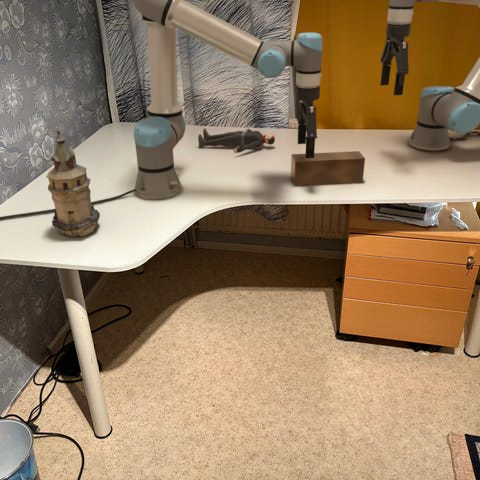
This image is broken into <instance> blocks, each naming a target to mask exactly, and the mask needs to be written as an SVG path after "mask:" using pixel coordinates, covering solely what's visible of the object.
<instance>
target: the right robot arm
mask: <svg viewBox="0 0 480 480" xmlns="http://www.w3.org/2000/svg"><path fill="white" fill-rule="evenodd" d="M421 2H422V3H423V2H443V3H451V4H452V3H454V4H463V5H472V6H477V7H478V8H479V9H480V0H389V2H388V3H389V4H388V5H389V6H388V8H387V9H388V10H387V18H386V20H387V22H388V23H387V24H386V29H385V35H386V37H385V43H384V47H383V50H382V54H381V57H380V63H381V65H382V67H381V74H380V75H381V76H380V84H379V85H380V86H389V84H390V77H391V67H392V65H393V64H392V61H393V58H395V64H396V65H395V66H396V72H395V81H394V88H393V96H403V94H404V93H403V92H404V86H405V78H406V75H408V74H409V70H410V69H409V41H405V38H407V37H410V36H411V29H412V24H411V23H412V21H413V15H414V14H415V12H414V6H415V3H421ZM418 105H419V106H418V112H417V119H416V120H417V121H416V125H415V127H414V129H413V131H412V132H411V133H410V138H409V140H408V145H409V146H410V147H411V148H413V149H415V150H418V151H422V152H430V153H437V152H445V151H447V150H448V149H450V143H451V141H464V140H466V139H467V136H470V135H471V134H470V133H475V134H474V135H478V136H479V137H480V132H479V131H474V130H475V129H476V128H477V127H478V126H479V125H480V57H478V59H477V61H476V62H475V64H474V66H473V67H472V68H471V70H470V72H469V73H468V75H467V76H466V78H465V79H464V81H463V83H462V84H461V85H459V86H456V87H453V86H450V85H449V86H448V85H431V86H425V87H424V88H423V89H422V90H421V94H420V97H419V104H418ZM449 131H451V132H454V133H457V134H463V135H462V136H461V137H460V136H459V137H460V138H457V137H450V135H449ZM476 133H477V134H476ZM465 134H466V136H465ZM464 136H465V138H464ZM454 138H455V139H454Z"/></svg>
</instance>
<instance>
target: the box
mask: <svg viewBox="0 0 480 480" xmlns="http://www.w3.org/2000/svg"><path fill="white" fill-rule="evenodd" d="M305 155H306V153H292V154H291V157H290V161H291V162H290V180H291V182H292V184H293V187H305V186H306V187H307V186H309V187H310V186H324V185H325V186H326V185H327V186H329V185H347V184H363V182H364V172H365V164H366V158H365V157H364V156H363V153H361V151H358V150H357V151H356V150H355V151H333V152H332V151H331V152H314V158H305Z"/></svg>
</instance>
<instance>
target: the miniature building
mask: <svg viewBox="0 0 480 480" xmlns="http://www.w3.org/2000/svg"><path fill="white" fill-rule="evenodd" d="M56 134H57V136H56V138H55V140H54V141H55V142H56V147H55V154H54V156H52V157H51V161H52V162H53V165H54V167H53V168H51V169H50V170H49V171H48V173H47V174H46V178H47V179H48V182H49V184H48V186H47V190H48V191H49V193H50V194H51V200H52V201H53V205H54V209H56V211H54V212H53V217H52V220H51V223H52V225H51V227H54V228H56V229H58V230H59V231H60V234H63V235H64V234H65V235H66V236H69V237H77V236H80V237H83V236H87V235H88V234H90V233H93V232H94V231H95V229H96V226H97V225H98V223H99V220H100V216H101V213H100V212H99V210H98V209H96V208H95V204H92V205H91V202H92V201H91V200H92V199H91V198H92V197H91V192H92V191H91V188H90V184H91V178H89V177H88V174H87V167H85V166H84V165H83V166H82V165H80V164H77V160H76V154H75V151H74V150H70V149H69V147H68V145H67V143H66V138H65V137H64V136H63V135H61V130H60V129H56Z"/></svg>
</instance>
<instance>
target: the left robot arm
mask: <svg viewBox="0 0 480 480" xmlns="http://www.w3.org/2000/svg"><path fill="white" fill-rule="evenodd" d="M132 3H133V5H134V8H135V9H136V10H137V12H138V13H140V14H141V18H142V22H143V23H144V24H145V25H146V26H147V37H148V39H147V41H148V42H147V43H148V58H149V59H148V61H149V81H150V101H151V102H150V104H149V105H148V106H147V107H146V111H147V112H146V113H147V117H145V118H142V119H139V120H138V121H137V122H136V123H135V125H134V127H133V139H134V144H135V154H136V161H137V175H136V179H135V184H134V189H131V190H128V191H126V192H124V193H121V194H119V195H115V196H112V197H108V198H104V199H99V200H98V199H97V200H95V201H91V205H93V204H94V205H95V204H100V203H104V202H110V201H113V200H116V199H120V198H123V197H125V196H128V195H130V194H132V193H135V195H136V196H137V197H138V198H141V199H143V200H148V201H161V200H168V199H171V198H174V197H176V196H178V195H179V194H180V193H181V192H182V183H181V180H180V177H179V176H178V173H177V171H176V169H175V161H174V160H175V159H174V158H175V157H174V149H175V147H176V146H177V145H178V144H179V143H180V142H181V140H182V139H183V138H184V135H185V132H186V128H187V124H186V119H185V117H184V115H183V107H182V105H181V104H179V102H178V71H177V69H178V68H177V30H176V29H178V30H179V31H181V32H184V33H185V34H188V35H189V36H191V37H193V38H195V39H197V40H200V41H201V42H203V43H205V44H207V45H209V46H211V47H213V48H215V49H217V50H219V51H220V52H223V53H224V54H227V55H229V56H231V57H232V58H234V59H237V60H239V61H241V62H243V63H245V64H247V65H248V66H251V67H253V68H254V69H256V70H258V71H259V74H261V75H262V76H263V77H265V78H267V79H274V78H277V77H279V76H280V75H281V74H282V73H283V72H284V71H285V69H286V67H296V71H295V72H296V73H295V85H296V87H295V98H296V99H297V100H299V103H298V108H297V114H296V115H297V117H296V121H297V145H305V154H306V155H305V158H314V153H315V150H316V149H315V148H316V147H315V146H316V139H318V132H317V106H316V105H314V101H317V100H319V99H320V97H321V87H320V85H321V78H323V74H322V73H321V72H322V59H323V36H322V35H321V33H318V32H301V33H298V35H297V38H296V39H294V40H276V39H275V40H274V39H273V40H272V39H268V40H261V39H260V38H259V37H256V36H254V35H252V34H250V33H248V32H246V31H244V30H242V29H240V28H238V27H237V26H235V25H233V24H231V23H229V22H227V21H225V20H223V19H221V18H219V17H218V16H216V15H214V14H211V13H209V12H207V11H206V10H204V9H202V8H200V7H198V6H197V5H194V4H192V3H190V2H188V1H186V0H132ZM55 211H56V209H55V208H51V209H45V210H39V211H38V210H37V211H32V212H31V211H30V212H24V213H17V214H10V215H2V216H0V220H6V219H12V218H19V217H20V218H21V217H26V216H33V215H40V214H47V213H54V212H55Z"/></svg>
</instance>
